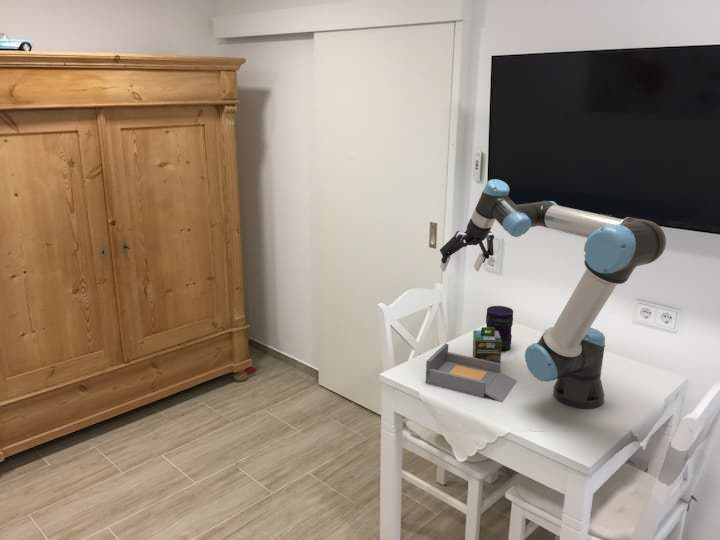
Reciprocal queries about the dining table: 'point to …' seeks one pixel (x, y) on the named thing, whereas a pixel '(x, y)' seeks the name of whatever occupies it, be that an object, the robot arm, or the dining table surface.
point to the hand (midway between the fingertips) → (459, 268)
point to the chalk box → (487, 344)
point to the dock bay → (467, 374)
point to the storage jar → (501, 324)
